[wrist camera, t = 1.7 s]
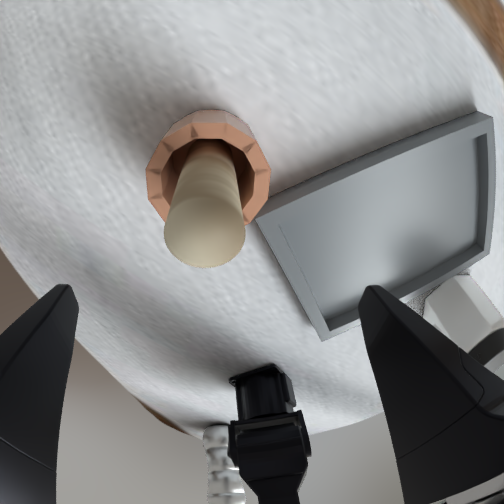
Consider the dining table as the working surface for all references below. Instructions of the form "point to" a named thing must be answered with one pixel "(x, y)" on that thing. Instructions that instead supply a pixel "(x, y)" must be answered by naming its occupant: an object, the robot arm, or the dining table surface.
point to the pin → (206, 208)
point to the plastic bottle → (221, 469)
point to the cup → (210, 127)
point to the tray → (386, 221)
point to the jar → (468, 319)
